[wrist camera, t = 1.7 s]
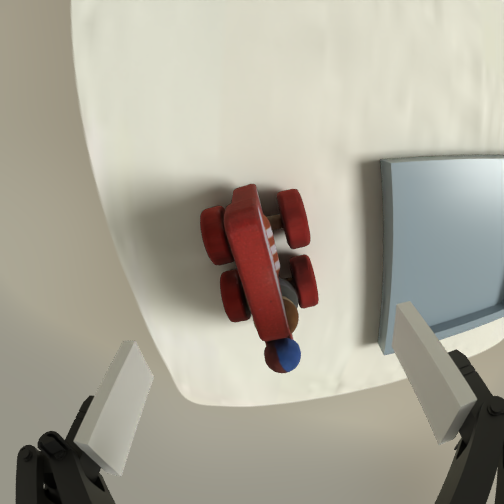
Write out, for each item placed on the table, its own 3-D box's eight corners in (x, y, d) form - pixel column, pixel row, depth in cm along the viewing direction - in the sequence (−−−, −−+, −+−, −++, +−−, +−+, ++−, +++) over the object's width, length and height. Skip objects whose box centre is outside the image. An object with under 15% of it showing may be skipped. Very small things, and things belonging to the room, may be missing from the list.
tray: (380, 159, 20) (390, 163, 19) (522, 155, 19) (535, 159, 17) (377, 342, 28) (383, 355, 26) (501, 305, 26) (510, 313, 24)
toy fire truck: (239, 320, 26) (232, 414, 17) (199, 185, 22) (155, 233, 12) (316, 305, 26) (342, 396, 16) (291, 164, 21) (322, 197, 11)
